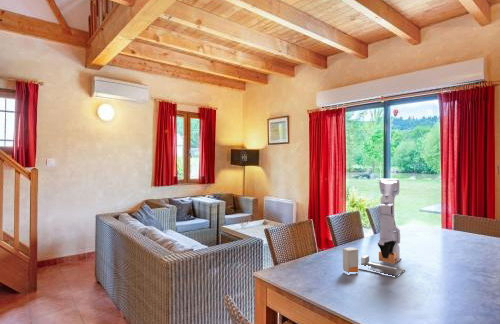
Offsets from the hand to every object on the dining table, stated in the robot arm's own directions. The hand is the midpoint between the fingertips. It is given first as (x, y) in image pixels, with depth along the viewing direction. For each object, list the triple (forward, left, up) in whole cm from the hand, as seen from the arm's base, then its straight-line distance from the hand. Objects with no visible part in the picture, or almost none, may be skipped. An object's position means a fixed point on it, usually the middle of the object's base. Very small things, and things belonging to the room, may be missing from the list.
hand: (387, 256), depth 145 cm
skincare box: (+14, -12, -7) cm, 20 cm away
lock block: (0, 0, -2) cm, 2 cm away
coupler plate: (0, -4, -7) cm, 8 cm away
